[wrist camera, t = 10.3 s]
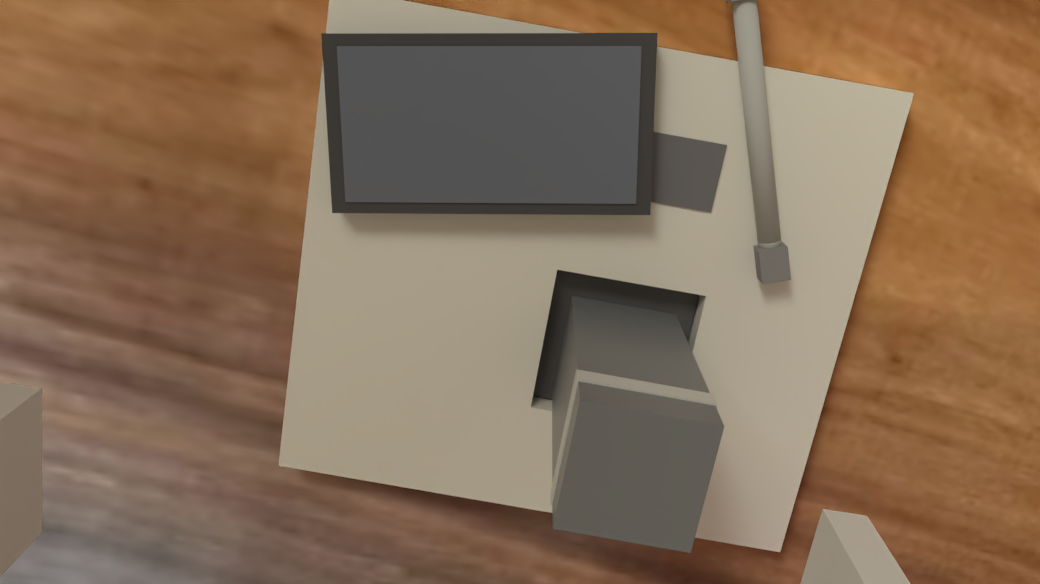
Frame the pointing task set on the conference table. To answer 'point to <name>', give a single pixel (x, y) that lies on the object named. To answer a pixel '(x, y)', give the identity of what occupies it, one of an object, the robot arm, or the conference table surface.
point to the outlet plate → (590, 293)
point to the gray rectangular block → (630, 428)
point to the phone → (490, 122)
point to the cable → (759, 145)
